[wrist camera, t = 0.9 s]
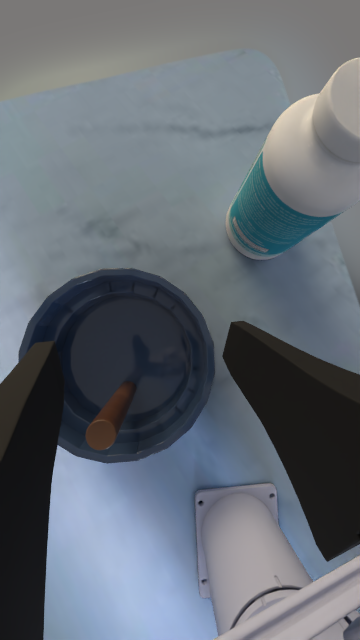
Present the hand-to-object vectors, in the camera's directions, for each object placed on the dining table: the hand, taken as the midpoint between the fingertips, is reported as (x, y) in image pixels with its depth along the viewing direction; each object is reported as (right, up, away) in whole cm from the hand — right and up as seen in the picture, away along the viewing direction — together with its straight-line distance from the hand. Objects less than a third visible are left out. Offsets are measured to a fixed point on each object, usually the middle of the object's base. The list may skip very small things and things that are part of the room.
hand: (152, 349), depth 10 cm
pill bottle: (+9, +11, +15) cm, 21 cm away
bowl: (-4, -2, +13) cm, 14 cm away
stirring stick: (-4, -5, +12) cm, 14 cm away
